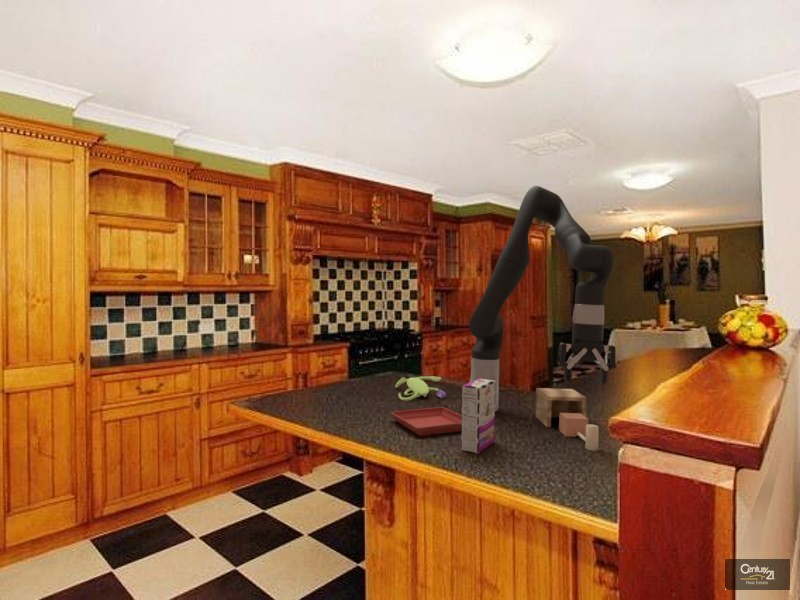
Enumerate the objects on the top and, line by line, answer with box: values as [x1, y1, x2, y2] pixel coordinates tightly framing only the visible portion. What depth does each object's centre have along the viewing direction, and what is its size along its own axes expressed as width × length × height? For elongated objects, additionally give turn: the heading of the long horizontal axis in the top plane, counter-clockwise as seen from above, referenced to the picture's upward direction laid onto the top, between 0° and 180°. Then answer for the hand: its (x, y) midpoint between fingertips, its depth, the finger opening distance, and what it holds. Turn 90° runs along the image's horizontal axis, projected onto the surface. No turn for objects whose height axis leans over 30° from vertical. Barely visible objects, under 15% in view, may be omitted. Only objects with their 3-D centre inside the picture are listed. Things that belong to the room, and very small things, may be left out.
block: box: [558, 413, 600, 451], centre depth 127 cm, size 6×18×6 cm, turn 179°
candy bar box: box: [460, 379, 496, 455], centre depth 120 cm, size 11×5×16 cm, turn 148°
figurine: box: [394, 375, 447, 402], centre depth 181 cm, size 18×27×6 cm
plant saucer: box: [391, 406, 462, 437], centre depth 137 cm, size 18×18×3 cm
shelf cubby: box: [534, 387, 588, 428], centre depth 145 cm, size 11×12×9 cm
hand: (585, 383), depth 123 cm, fingers open, 8 cm apart
